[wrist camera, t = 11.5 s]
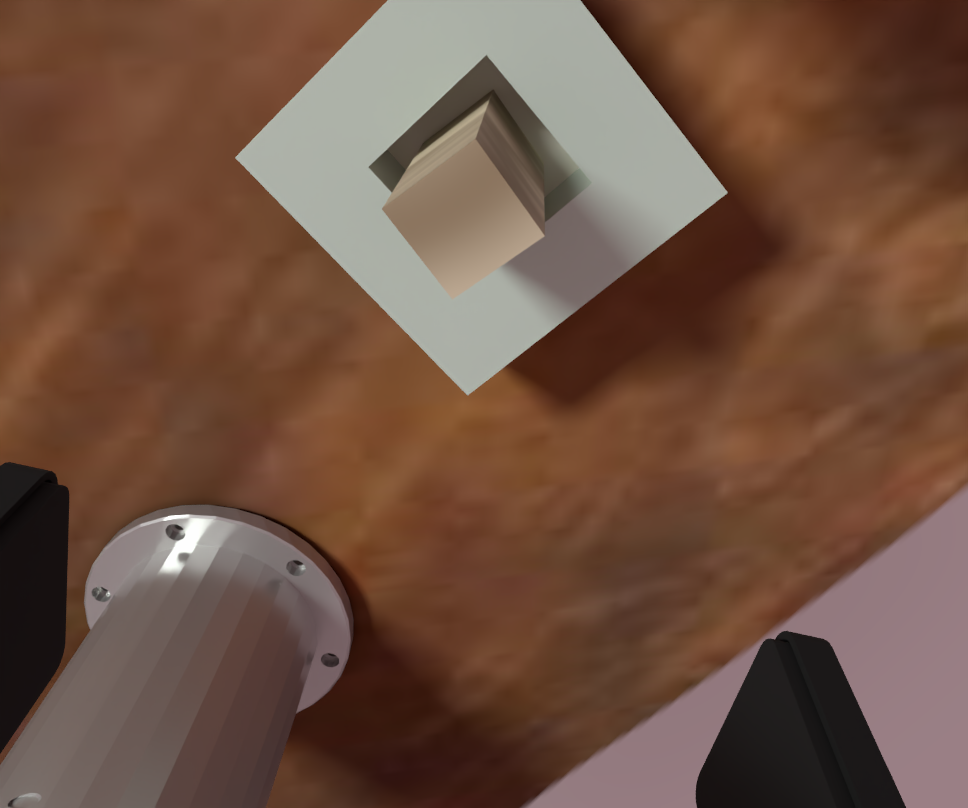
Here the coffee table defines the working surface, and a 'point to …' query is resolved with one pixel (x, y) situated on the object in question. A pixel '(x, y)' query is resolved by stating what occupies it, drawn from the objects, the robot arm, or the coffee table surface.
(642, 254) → the grey square socket block
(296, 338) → the coffee table surface
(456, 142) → the birch stick
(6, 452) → the coffee table surface
